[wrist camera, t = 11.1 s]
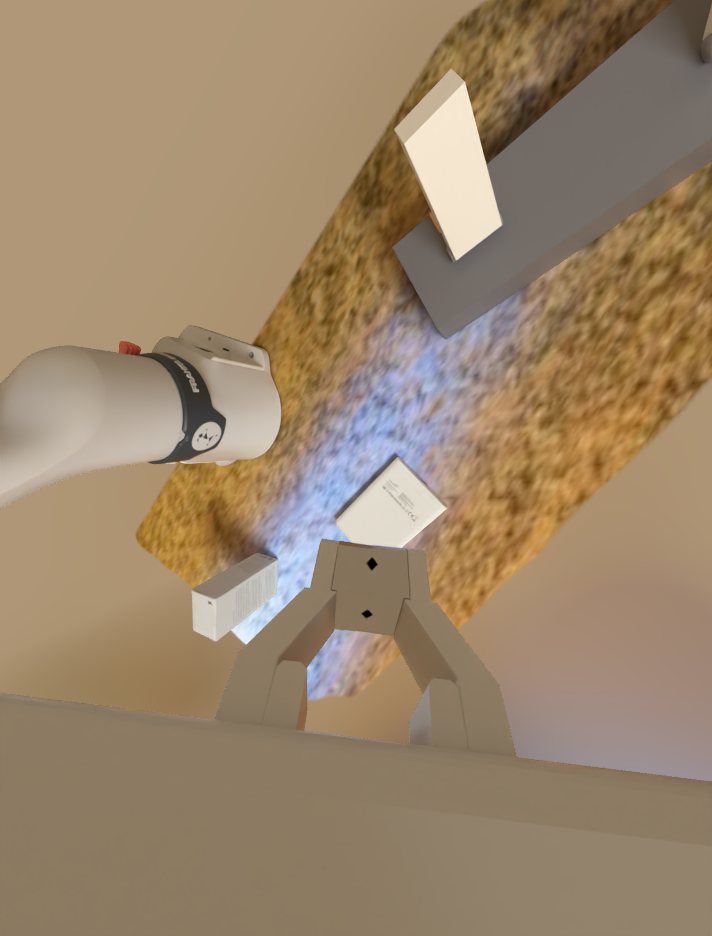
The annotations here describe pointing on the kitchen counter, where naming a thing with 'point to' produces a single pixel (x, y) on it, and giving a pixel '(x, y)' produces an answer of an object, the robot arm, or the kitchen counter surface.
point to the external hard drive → (391, 509)
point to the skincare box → (233, 595)
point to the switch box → (579, 169)
